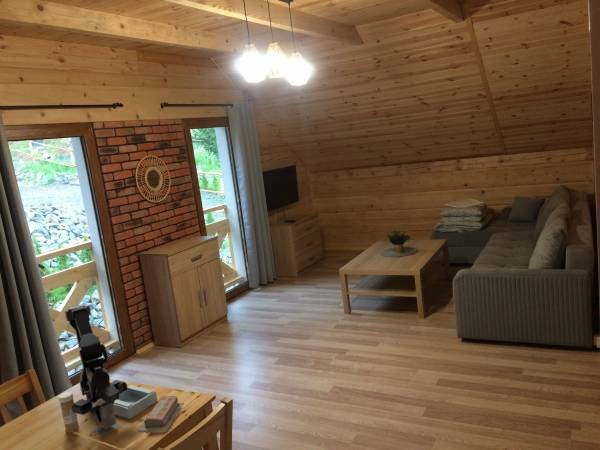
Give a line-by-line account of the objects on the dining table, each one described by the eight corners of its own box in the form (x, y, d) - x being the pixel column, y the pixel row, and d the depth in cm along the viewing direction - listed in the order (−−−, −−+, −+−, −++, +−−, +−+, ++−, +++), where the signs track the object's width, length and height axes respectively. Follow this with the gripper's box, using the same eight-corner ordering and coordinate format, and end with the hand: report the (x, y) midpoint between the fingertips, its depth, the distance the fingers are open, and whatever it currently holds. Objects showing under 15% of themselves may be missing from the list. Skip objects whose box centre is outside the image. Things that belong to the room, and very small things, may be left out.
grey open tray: (104, 412, 195) (102, 400, 194) (132, 395, 205) (130, 384, 205) (129, 420, 187) (127, 407, 186) (157, 402, 198) (155, 390, 197)
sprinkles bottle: (62, 432, 184) (55, 397, 182) (72, 425, 188) (65, 390, 186) (72, 433, 182) (65, 398, 180) (82, 426, 186) (75, 391, 184)
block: (106, 428, 179) (102, 407, 178) (95, 425, 182) (91, 404, 181) (116, 422, 182) (112, 401, 181) (105, 419, 186) (101, 398, 184)
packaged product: (156, 394, 195) (182, 393, 193) (158, 406, 195) (184, 405, 194) (135, 421, 177) (163, 420, 176) (138, 434, 178) (166, 433, 176)
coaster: (92, 432, 182) (91, 431, 181) (108, 422, 187) (108, 420, 187) (104, 437, 178) (104, 435, 178) (121, 426, 183) (121, 424, 183)
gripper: (87, 394, 167) (96, 439, 170) (134, 369, 182) (141, 410, 185) (66, 388, 173) (75, 431, 176) (113, 364, 188) (121, 404, 191)
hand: (104, 419), depth 182 cm, fingers closed on block, 4 cm apart
